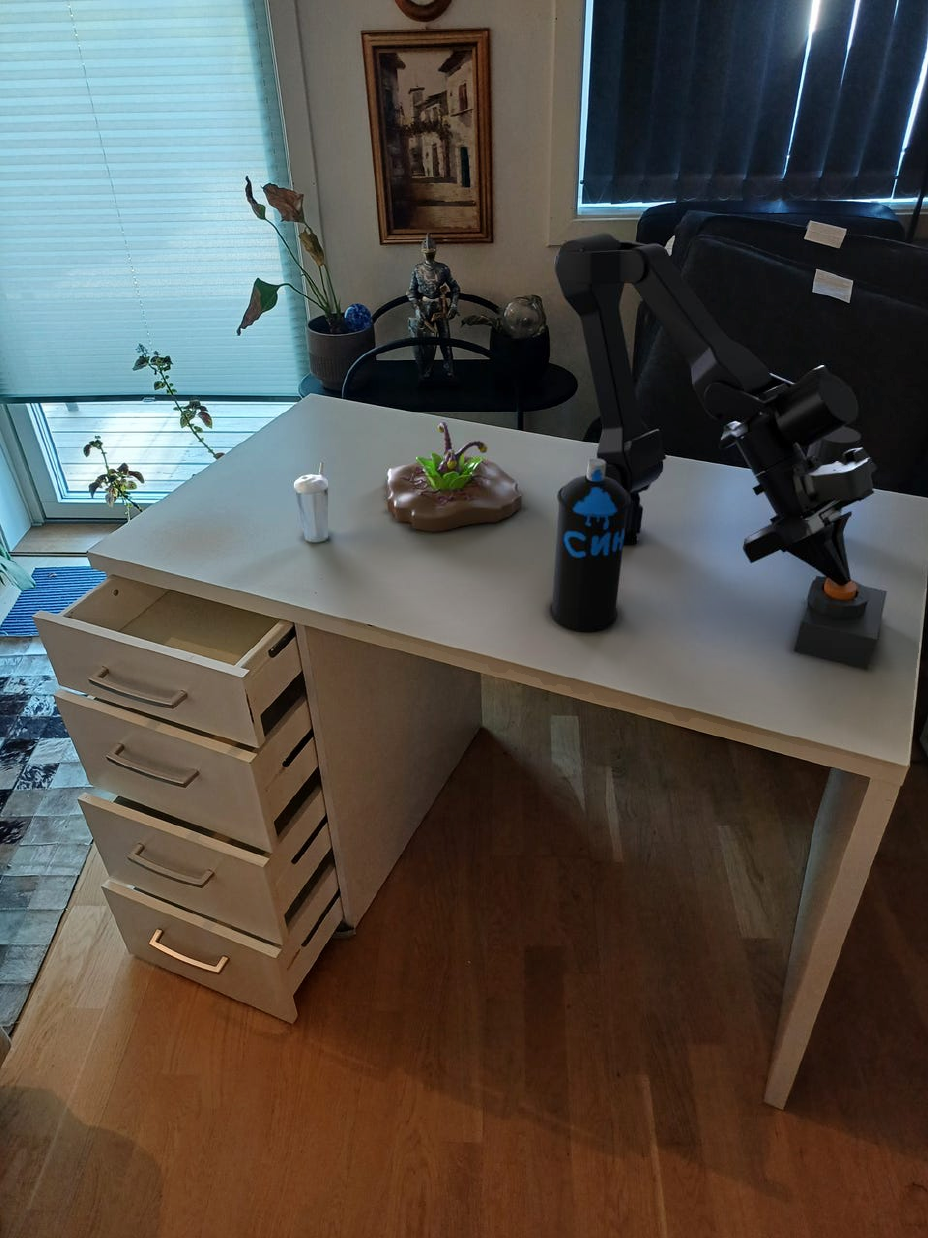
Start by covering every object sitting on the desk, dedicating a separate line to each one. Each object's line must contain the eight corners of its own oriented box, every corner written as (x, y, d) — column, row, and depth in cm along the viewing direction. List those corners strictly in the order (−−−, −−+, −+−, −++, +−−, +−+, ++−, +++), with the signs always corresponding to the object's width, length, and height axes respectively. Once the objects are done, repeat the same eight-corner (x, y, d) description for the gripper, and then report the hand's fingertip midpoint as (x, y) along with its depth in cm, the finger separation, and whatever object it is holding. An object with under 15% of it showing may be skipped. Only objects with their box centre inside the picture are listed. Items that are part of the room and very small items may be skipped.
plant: (491, 462, 145) (492, 396, 139) (536, 517, 130) (539, 444, 124) (370, 479, 140) (365, 410, 134) (402, 538, 125) (398, 463, 119)
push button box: (867, 670, 100) (881, 626, 97) (792, 650, 103) (803, 607, 100) (877, 620, 108) (891, 577, 105) (807, 603, 111) (818, 561, 108)
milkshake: (342, 530, 127) (336, 465, 121) (321, 548, 123) (315, 481, 117) (314, 524, 128) (308, 459, 123) (293, 541, 124) (285, 474, 119)
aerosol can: (544, 596, 113) (553, 447, 101) (609, 593, 113) (625, 445, 102) (555, 634, 106) (566, 479, 95) (624, 631, 107) (643, 476, 95)
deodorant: (836, 546, 123) (864, 444, 115) (791, 542, 124) (815, 440, 116) (831, 526, 128) (857, 426, 119) (787, 522, 129) (810, 423, 120)
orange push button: (850, 611, 102) (855, 595, 101) (819, 603, 103) (823, 588, 102) (854, 596, 104) (859, 580, 103) (823, 589, 106) (828, 573, 104)
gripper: (789, 455, 91) (866, 591, 90) (878, 408, 101) (947, 530, 100) (711, 499, 100) (780, 623, 99) (800, 452, 110) (863, 564, 110)
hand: (845, 583), depth 102 cm, fingers closed, pressing on orange push button
